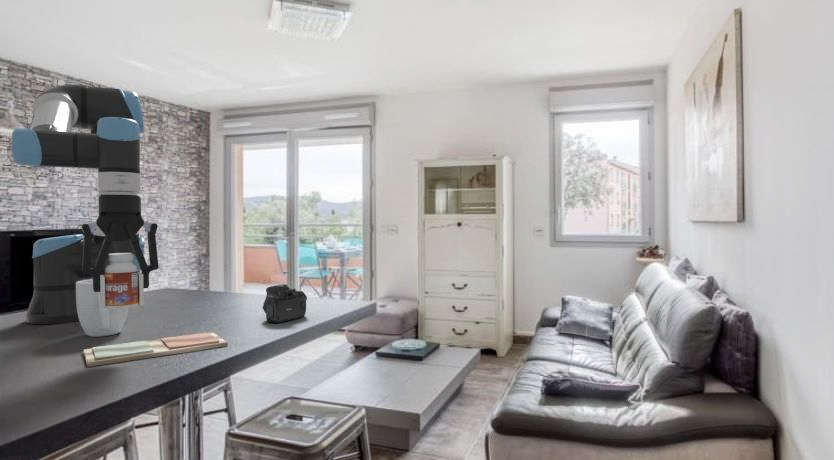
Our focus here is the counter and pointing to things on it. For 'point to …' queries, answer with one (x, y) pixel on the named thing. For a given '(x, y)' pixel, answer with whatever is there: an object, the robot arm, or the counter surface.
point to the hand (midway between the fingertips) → (122, 305)
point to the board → (151, 348)
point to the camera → (284, 303)
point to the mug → (97, 312)
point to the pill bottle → (121, 281)
